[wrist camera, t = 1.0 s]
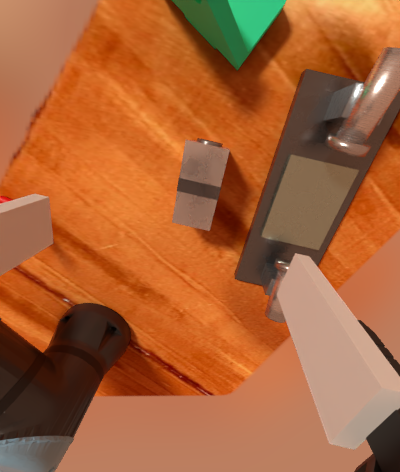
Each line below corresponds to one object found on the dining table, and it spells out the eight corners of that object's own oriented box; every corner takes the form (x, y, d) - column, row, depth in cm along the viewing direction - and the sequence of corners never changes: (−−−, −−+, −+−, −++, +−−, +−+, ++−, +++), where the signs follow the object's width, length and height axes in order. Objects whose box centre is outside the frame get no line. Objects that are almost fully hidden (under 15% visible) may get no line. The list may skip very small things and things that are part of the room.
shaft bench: (296, 294, 39) (316, 335, 31) (232, 279, 39) (235, 316, 31) (404, 82, 25) (491, 55, 17) (306, 60, 25) (346, 21, 17)
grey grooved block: (211, 216, 34) (209, 234, 28) (180, 209, 34) (171, 225, 28) (229, 145, 30) (231, 146, 23) (193, 136, 30) (185, 135, 23)
